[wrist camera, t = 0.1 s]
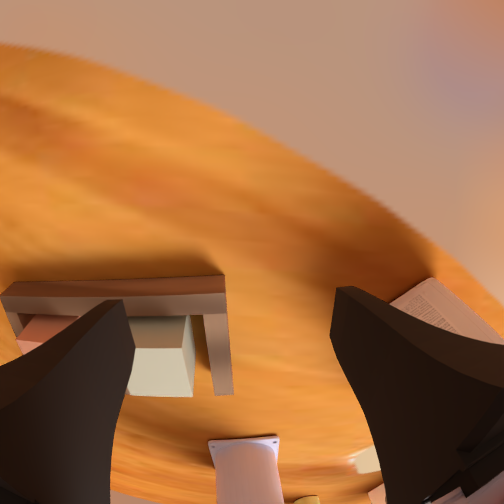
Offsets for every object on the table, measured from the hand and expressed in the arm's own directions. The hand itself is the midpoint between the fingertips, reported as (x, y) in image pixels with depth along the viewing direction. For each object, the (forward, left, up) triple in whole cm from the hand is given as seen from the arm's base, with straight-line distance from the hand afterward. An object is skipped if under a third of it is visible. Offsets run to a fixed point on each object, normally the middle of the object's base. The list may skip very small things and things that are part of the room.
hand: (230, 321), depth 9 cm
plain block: (-8, +5, -10) cm, 14 cm away
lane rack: (-8, +9, -10) cm, 16 cm away
